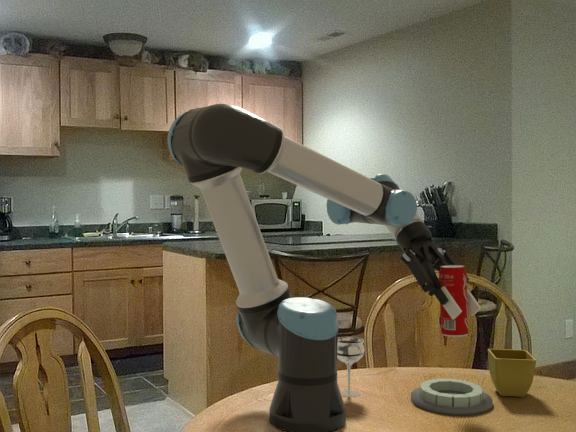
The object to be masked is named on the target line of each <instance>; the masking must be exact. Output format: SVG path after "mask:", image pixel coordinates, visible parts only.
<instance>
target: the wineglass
mask: <svg viewBox="0 0 576 432" xmlns="http://www.w3.org/2000/svg"><path fill="white" fill-rule="evenodd" d="M364 343H365V339H364V338H362V337H357V336H338V345H337V360H339V361H340V362H342V363H345V365H346V367H347V371H346V372H347V389H342V390H340V393H341V396H342V397H347V398H353V397H358V396H359V395H361V393H360V392H359V391H357V390H356V389H355V390H354V389H351V388H350V387H351V371H352V370H351V367H352V366H353V364H355V363H357V362H358V361H360V360H361V359H362V358H363V356H364V355H365V345H364Z"/></svg>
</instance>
